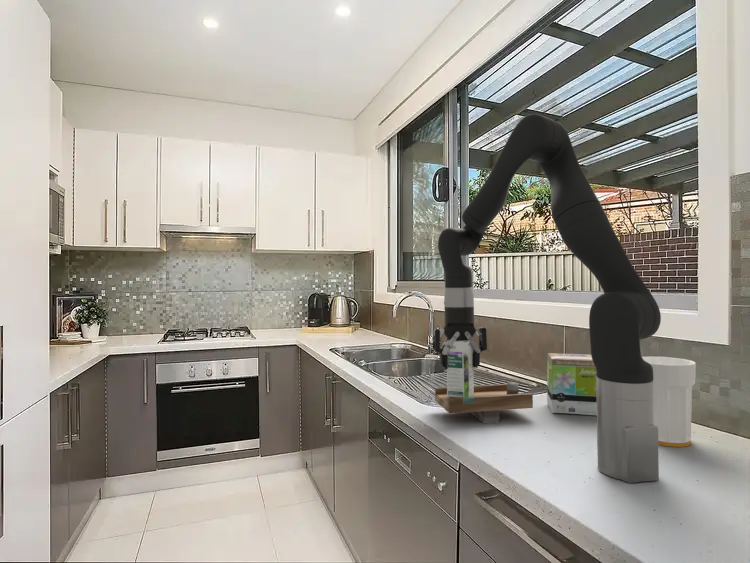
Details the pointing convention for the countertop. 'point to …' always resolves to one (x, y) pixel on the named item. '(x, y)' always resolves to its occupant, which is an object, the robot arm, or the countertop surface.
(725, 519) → the countertop surface
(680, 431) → the cup
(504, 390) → the beam
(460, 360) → the syrup box
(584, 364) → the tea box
